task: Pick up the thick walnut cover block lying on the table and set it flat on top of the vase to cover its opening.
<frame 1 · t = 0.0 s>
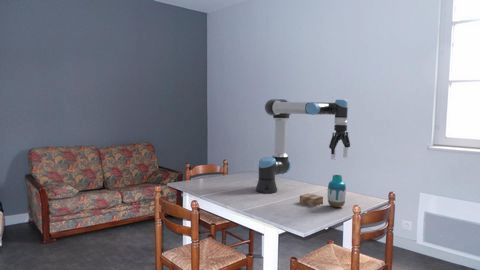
hand: (339, 158, 225), 28 cm above the table, tool pointing down, fingers open, 13 cm apart
cover: (311, 204, 224), on the table
vase: (336, 207, 218), on the table
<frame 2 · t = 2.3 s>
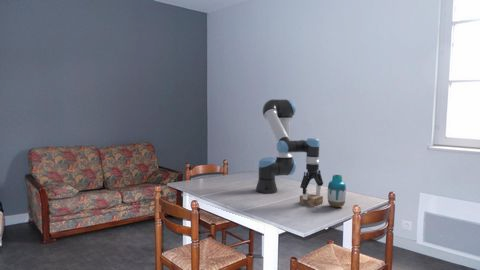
hand: (311, 197, 223), 4 cm above the table, tool pointing down, fingers open, 13 cm apart
nothing on the table moved.
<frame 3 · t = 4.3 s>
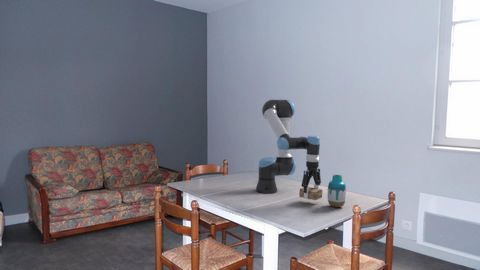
hand: (310, 196, 224), 4 cm above the table, tool pointing down, fingers closed on cover, 9 cm apart
cover: (310, 197, 224), point 4 cm above the table, touching gripper
everything else where it was.
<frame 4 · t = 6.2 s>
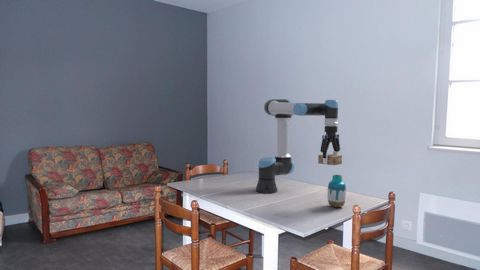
hand: (330, 162, 217), 26 cm above the table, tool pointing down, fingers closed on cover, 9 cm apart
cover: (329, 163, 217), point 26 cm above the table, touching gripper
everything else where it was.
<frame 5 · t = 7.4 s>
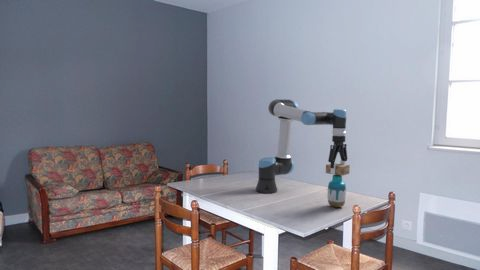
hand: (337, 172, 216), 21 cm above the table, tool pointing down, fingers closed on cover, 9 cm apart
cover: (337, 173, 216), point 20 cm above the table, touching gripper
everything else where it was.
when the fingers open (19 cm above the table, at t = 8.2 s): cover stays where it is, resting on vase.
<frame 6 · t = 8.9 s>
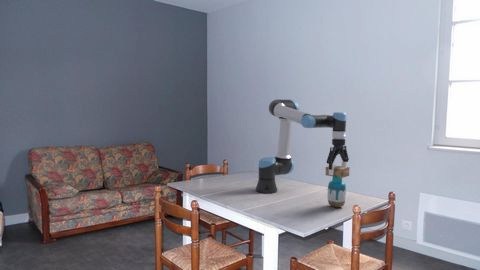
hand: (337, 173, 216), 20 cm above the table, tool pointing down, fingers open, 13 cm apart
cover: (337, 175, 216), point 19 cm above the table, touching vase
vase: (336, 207, 218), on the table, touching cover
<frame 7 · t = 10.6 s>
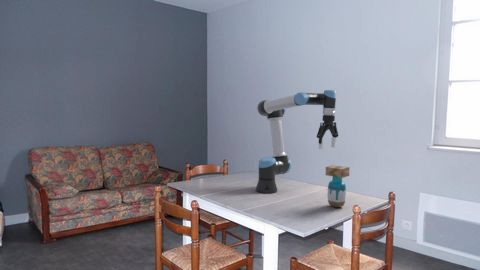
hand: (327, 148, 230), 34 cm above the table, tool pointing down, fingers open, 13 cm apart
nothing on the table moved.
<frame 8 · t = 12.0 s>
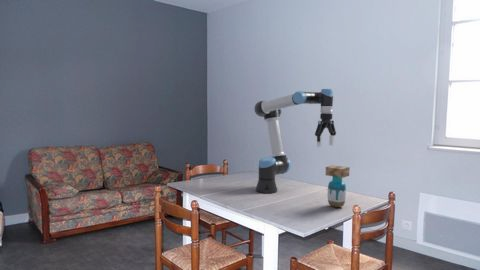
hand: (325, 146, 233), 35 cm above the table, tool pointing down, fingers open, 13 cm apart
nothing on the table moved.
at the end: cover inside the target area on the vase (0.0 cm from its centre), point 19.4 cm above the vase's base; the gripper is holding nothing; vase tilted 0° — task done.
